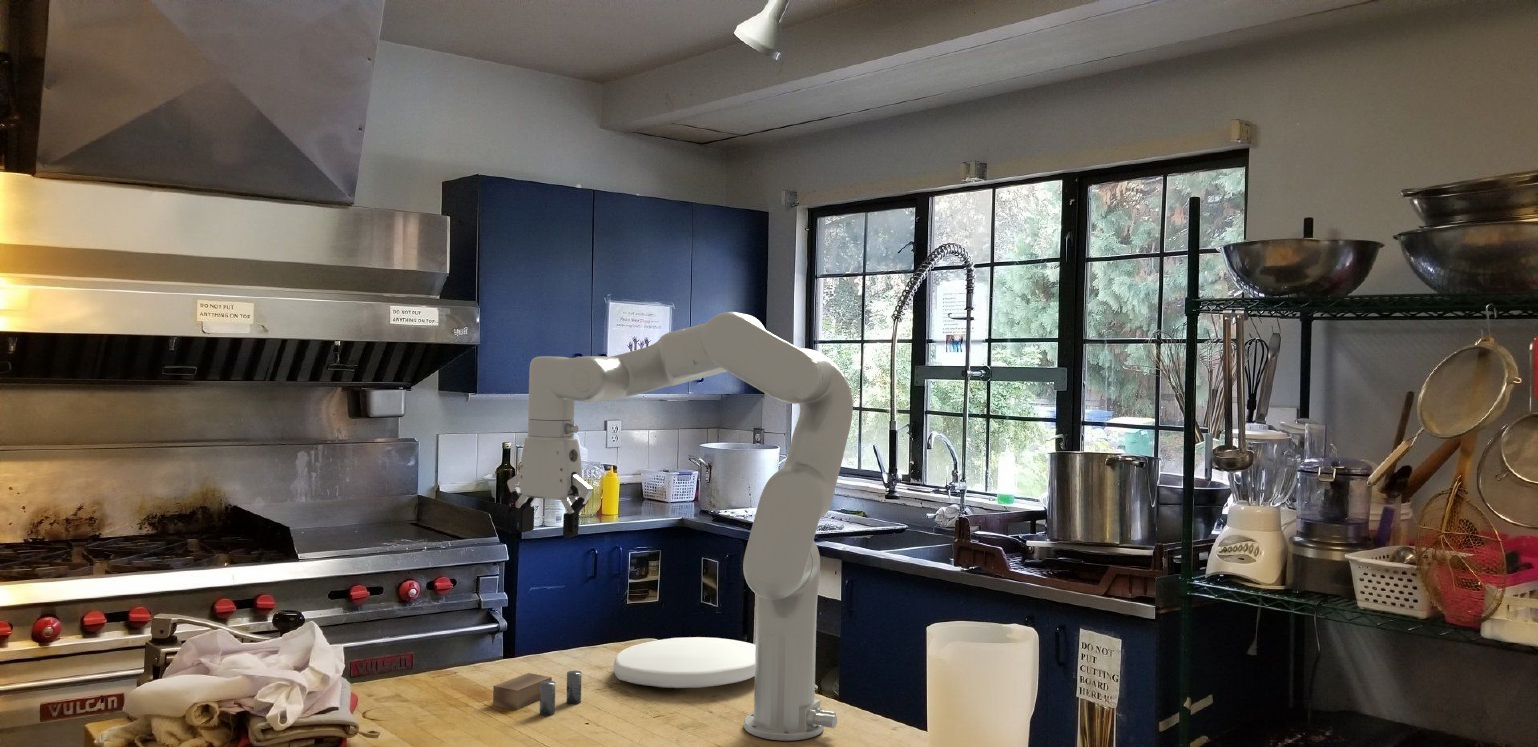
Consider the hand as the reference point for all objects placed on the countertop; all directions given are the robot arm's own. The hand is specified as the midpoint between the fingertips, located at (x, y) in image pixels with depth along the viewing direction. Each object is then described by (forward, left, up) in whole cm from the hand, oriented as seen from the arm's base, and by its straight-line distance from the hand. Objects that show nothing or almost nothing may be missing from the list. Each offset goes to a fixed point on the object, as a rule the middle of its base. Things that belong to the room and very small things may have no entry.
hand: (548, 533), depth 183 cm
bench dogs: (-3, 0, -29) cm, 29 cm away
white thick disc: (-12, -27, -29) cm, 41 cm away
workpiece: (+5, 0, -29) cm, 29 cm away
